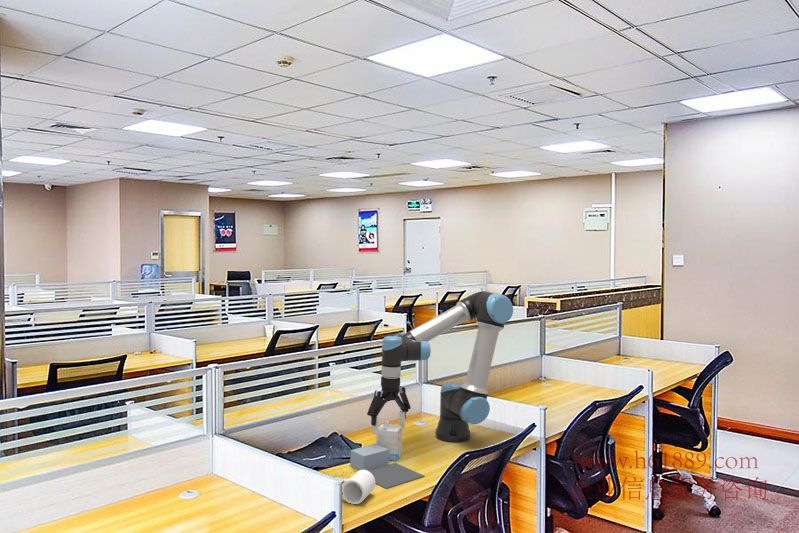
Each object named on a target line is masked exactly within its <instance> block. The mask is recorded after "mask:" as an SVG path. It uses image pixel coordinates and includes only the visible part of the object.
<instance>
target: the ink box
mask: <svg viewBox="0 0 799 533" xmlns="http://www.w3.org/2000/svg"><path fill="white" fill-rule="evenodd" d="M402 432H403V428H402V425H399V424H393V423H391V422H390V420H386V421H385V422H384V423H381V424H380V425H379V426H378V434H377V435H376V444H377V445H380V446H382V447H384V448H387V449H389V461H392V462H393V461H394V462H397V461H398V460H399V458H400V456H401V455H402V435H403V433H402Z"/></svg>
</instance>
